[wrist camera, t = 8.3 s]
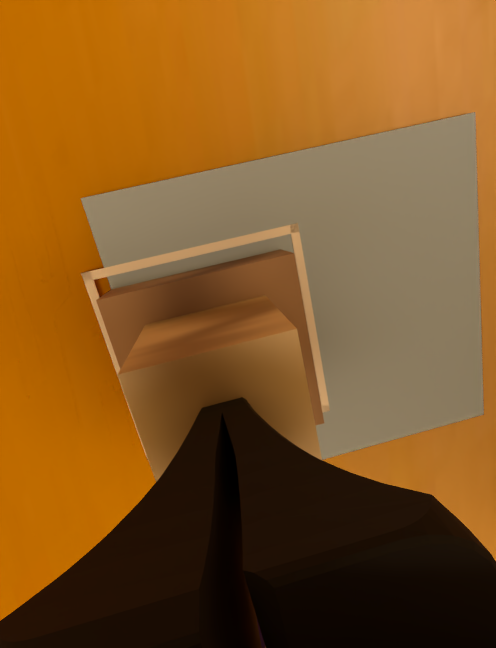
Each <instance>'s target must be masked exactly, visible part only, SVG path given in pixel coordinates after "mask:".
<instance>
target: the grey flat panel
mask: <svg viewBox="0 0 496 648" xmlns="http://www.w3.org/2000/svg"><path fill="white" fill-rule="evenodd" d="M81 201H82V204H83V207H84V209H85V212H86V215H87V218H88V221H89V224H90V227H91V230H92V233H93V236H94V239H95V242H96V245H97V248H98V251H99V254H100V257H101V260H102V263H103V266H104V268H101V269H97V270H93V271H89V272H84V273H81V275H82V277H83V280H84V283H85V286H86V289H87V291H88V294H89V297H90V300H91V303H92V305H93V308H94V311H95V314H96V317H97V319H98V322H99V325H100V328H101V331H102V334H103V336H104V339H105V342H106V345H107V348H108V350H109V353H110V356H111V359H112V362H113V364H114V367H115V370H116V373H117V376H118V373H119V371H120V367H119V364H118V361H117V358H116V356H115V353H114V350H113V347H112V344H111V341H110V339H109V336H108V333H107V330H106V327H105V324H104V321H103V319H102V316H101V313H100V310H99V307H98V304H97V302H96V300H97V299H99V298H100V296H99V293H98V290H97V288H96V285H95V282H94V280H95V279H100V278H104V277H107V278H108V281H109V284H110V287H111V289H115V288H119V287H124V286H128V285H132V284H136V283H141V282H145V281H149V280H153V279H157V278H162V277H166V276H170V275H174V274H179V273H183V272H187V271H191V270H196V269H200V268H204V267H208V266H212V265H217V264H221V263H225V262H229V261H234V260H238V259H242V258H246V257H250V256H255V255H259V254H263V253H267V252H272V251H276V250H280V249H281V250H285V251H288V252H292V253H294V255H295V261H296V266H297V272H298V277H299V283H300V289H301V294H302V300H303V306H304V311H305V317H306V322H307V328H308V334H309V339H310V345H311V350H312V356H313V362H314V367H315V373H316V379H317V384H318V390H319V395H320V401H321V407H322V412H323V418H324V423H323V424H320V425H316V431H317V436H318V441H319V446H320V452H321V457H322V460H323V459H326V458H330V457H334V456H337V455H341V454H344V453H348V452H352V451H355V450H359V449H362V448H366V447H369V446H373V445H377V444H380V443H384V442H387V441H391V440H395V439H398V438H402V437H405V436H409V435H412V434H416V433H420V432H423V431H427V430H430V429H434V428H438V427H441V426H445V425H448V424H452V423H455V422H459V421H463V420H466V419H470V418H473V417H477V416H480V415H484V405H483V369H482V334H481V299H480V263H479V228H478V193H477V158H476V122H475V112H474V113H469V114H465V115H460V116H456V117H451V118H446V119H442V120H437V121H433V122H428V123H423V124H419V125H414V126H410V127H405V128H401V129H396V130H391V131H387V132H382V133H378V134H373V135H369V136H364V137H359V138H355V139H350V140H346V141H341V142H336V143H332V144H327V145H323V146H318V147H314V148H309V149H304V150H300V151H295V152H291V153H286V154H282V155H277V156H272V157H268V158H263V159H259V160H254V161H250V162H245V163H240V164H236V165H231V166H227V167H222V168H217V169H213V170H208V171H204V172H199V173H195V174H190V175H185V176H181V177H176V178H172V179H167V180H163V181H158V182H153V183H149V184H144V185H140V186H135V187H131V188H126V189H121V190H117V191H112V192H108V193H103V194H98V195H94V196H89V197H85V198H81ZM118 378H119V377H118ZM119 381H120V380H119ZM120 384H121V383H120ZM121 387H122V386H121ZM122 390H123V388H122ZM123 392H124V391H123ZM124 395H125V394H124ZM125 398H126V397H125ZM126 401H127V399H126ZM127 404H128V402H127ZM128 406H129V405H128ZM129 409H130V408H129ZM130 412H131V411H130ZM131 415H132V413H131ZM132 418H133V416H132ZM133 420H134V419H133ZM134 423H135V422H134ZM135 426H136V424H135ZM136 429H137V427H136ZM137 432H138V430H137ZM138 434H139V433H138ZM139 437H140V435H139ZM140 440H141V438H140ZM141 443H142V441H141ZM142 446H143V444H142ZM143 448H144V447H143ZM144 451H145V449H144ZM145 454H146V452H145ZM146 457H147V455H146ZM147 460H148V458H147Z"/></svg>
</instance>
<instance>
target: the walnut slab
mask: <svg viewBox="0 0 496 648" xmlns="http://www.w3.org/2000/svg"><path fill="white" fill-rule="evenodd" d="M264 295H265V296H266V297H267V298H268V299H269V300H270V301H271V302H272V303H273V304H274V305H275V306H276V307H277V308H278V309H279V310H280V311H281V312H282V314H283V315H284V316H285V317H286V318H287V319H288V320H289V321H290V322H291V323H292V324H293V325H294V326H295V327H296V328H297V331H298V337H299V342H300V347H301V352H302V357H303V363H304V368H305V373H306V378H307V384H308V389H309V394H310V399H311V405H312V410H313V415H314V420H315V425H320V424H323V423H324V418H323V412H322V407H321V401H320V395H319V390H318V384H317V379H316V373H315V367H314V362H313V356H312V350H311V345H310V339H309V334H308V328H307V322H306V317H305V311H304V306H303V300H302V294H301V289H300V283H299V277H298V272H297V266H296V261H295V255H294V253H292V252H288V251H285V250H281V249H280V250H276V251H272V252H267V253H263V254H259V255H255V256H250V257H246V258H242V259H238V260H234V261H229V262H225V263H221V264H217V265H212V266H208V267H204V268H200V269H196V270H191V271H187V272H183V273H179V274H174V275H170V276H166V277H162V278H157V279H153V280H149V281H145V282H141V283H136V284H132V285H128V286H124V287H119V288H115V289H111V290H110V291H108V292H107V293H106V294H104V295H103V296H101V297H100V298H99V299H97V300H96V302H97V304H98V307H99V310H100V313H101V316H102V319H103V321H104V324H105V327H106V330H107V333H108V336H109V339H110V341H111V344H112V347H113V350H114V353H115V356H116V358H117V361H118V364H119V367H120V369H121V368H122V366H123V364H124V362H125V360H126V359H127V357H128V355H129V353H130V351H131V350H132V348H133V346H134V344H135V342H136V341H137V339H138V337H139V335H140V333H141V332H142V330H143V328H144V326H145V325H147V324H151V323H155V322H160V321H164V320H168V319H172V318H176V317H180V316H184V315H188V314H192V313H196V312H200V311H204V310H208V309H212V308H216V307H220V306H224V305H228V304H232V303H236V302H240V301H244V300H248V299H252V298H256V297H260V296H264Z"/></svg>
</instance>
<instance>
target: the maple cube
mask: <svg viewBox="0 0 496 648" xmlns="http://www.w3.org/2000/svg"><path fill="white" fill-rule="evenodd" d="M118 377H119V380H120V383H121V386H122V388H123V391H124V394H125V397H126V399H127V402H128V405H129V408H130V411H131V413H132V416H133V419H134V422H135V424H136V427H137V430H138V433H139V435H140V438H141V441H142V444H143V447H144V449H145V452H146V455H147V458H148V460H149V463H150V466H151V469H152V472H153V474H154V477H155V480H156V482H157V481H158V479H159V478H160V477H161V475H162V474H163V473H164V471H165V470H166V468H167V467H168V465H169V464H170V462H171V461H172V459H173V458H174V456H175V455H176V453H177V452H178V450H179V448H180V446H181V445H182V443H183V441H184V440H185V438H186V436H187V434H188V433H189V431H190V429H191V427H192V425H193V423H194V421H195V419H196V417H197V415H198V413H199V412H200V410H201V408H203V407H207V406H211V405H215V404H218V403H222V402H226V401H230V400H234V399H237V398H241V397H243V398H245V399H246V400H247V401H248V403H249V404H250V406H251V407H252V408H253V409H254V410H255V411H256V412H257V414H258V415H259V416H260V417H261V418H262V419H263V420H265V421H266V422H267V423H268V424H269V425H270V426H271V427H272V428H273V429H275V430H276V431H277V432H278V433H280V434H281V435H282V436H284V437H285V438H286V439H288V440H289V441H290V442H292V443H293V444H295V445H296V446H298V447H299V448H301V449H302V450H304V451H306V452H307V453H309V454H311V455H313V456H314V457H316V458H318V459H320V460H322V457H321V452H320V446H319V441H318V436H317V431H316V425H315V420H314V415H313V410H312V405H311V399H310V394H309V389H308V384H307V378H306V373H305V368H304V363H303V357H302V352H301V347H300V342H299V337H298V331H297V328H296V327H295V326H294V325H293V324H292V323H291V322H290V321H289V320H288V319H287V318H286V317H285V316H284V315H283V314H282V312H281V311H280V310H279V309H278V308H277V307H276V306H275V305H274V304H273V303H272V302H271V301H270V300H269V299H268V298H267V297H266V296H265V295H264V296H260V297H256V298H252V299H248V300H244V301H240V302H236V303H232V304H228V305H224V306H220V307H216V308H212V309H208V310H204V311H200V312H196V313H192V314H188V315H184V316H180V317H176V318H172V319H168V320H164V321H160V322H155V323H151V324H147V325H145V326H144V328H143V330H142V332H141V333H140V335H139V337H138V339H137V341H136V342H135V344H134V346H133V348H132V350H131V351H130V353H129V355H128V357H127V359H126V360H125V362H124V364H123V366H122V368H121V369H120V371H119V373H118Z"/></svg>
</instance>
